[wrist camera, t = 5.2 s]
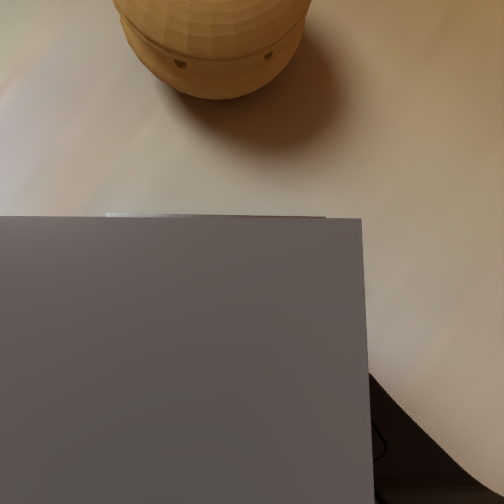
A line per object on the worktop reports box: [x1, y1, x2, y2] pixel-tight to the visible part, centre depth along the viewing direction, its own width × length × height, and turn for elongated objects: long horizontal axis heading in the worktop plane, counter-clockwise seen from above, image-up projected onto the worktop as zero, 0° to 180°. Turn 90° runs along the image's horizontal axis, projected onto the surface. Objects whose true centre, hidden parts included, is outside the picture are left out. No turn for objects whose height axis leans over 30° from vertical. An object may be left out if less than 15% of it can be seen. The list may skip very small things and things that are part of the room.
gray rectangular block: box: [0, 216, 375, 504], centre depth 10 cm, size 5×5×13 cm
